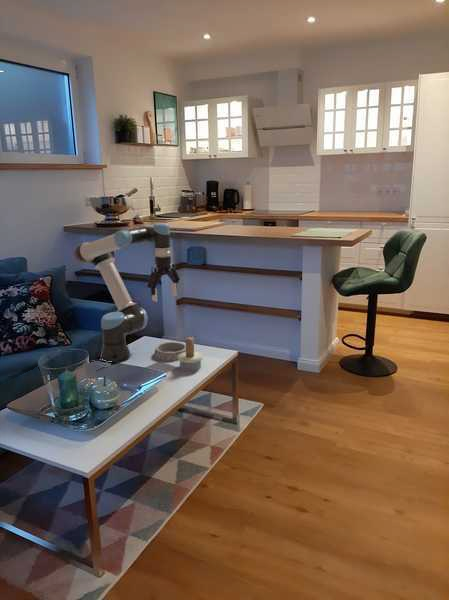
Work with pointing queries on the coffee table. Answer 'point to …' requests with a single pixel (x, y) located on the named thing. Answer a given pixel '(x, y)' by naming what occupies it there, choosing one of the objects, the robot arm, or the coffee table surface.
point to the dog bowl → (171, 346)
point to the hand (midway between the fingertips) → (164, 298)
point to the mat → (162, 367)
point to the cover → (190, 353)
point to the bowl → (190, 366)
